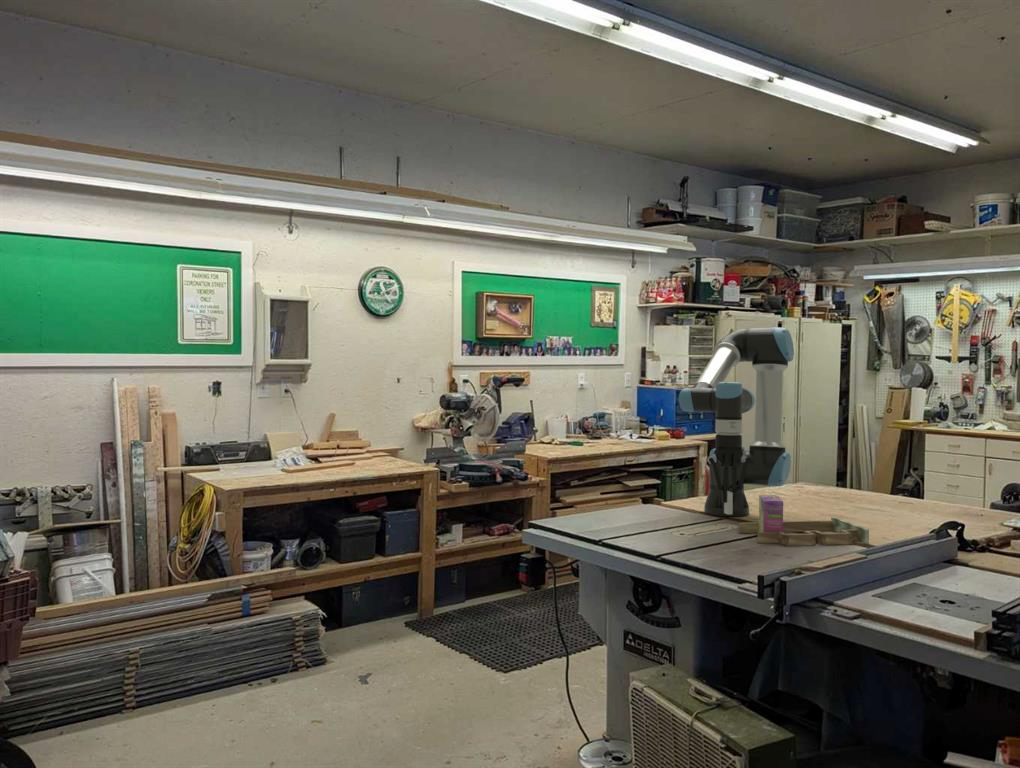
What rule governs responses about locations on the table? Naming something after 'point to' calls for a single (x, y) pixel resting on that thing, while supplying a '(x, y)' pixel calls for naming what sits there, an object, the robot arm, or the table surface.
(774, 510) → the box
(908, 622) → the table surface
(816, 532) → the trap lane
